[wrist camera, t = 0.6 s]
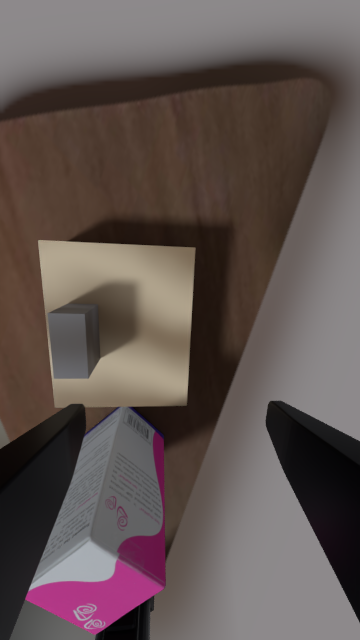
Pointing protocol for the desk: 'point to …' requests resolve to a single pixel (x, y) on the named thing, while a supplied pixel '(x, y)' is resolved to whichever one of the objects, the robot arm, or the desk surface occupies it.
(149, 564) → the supplement box
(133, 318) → the lid
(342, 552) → the robot arm
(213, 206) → the desk surface
